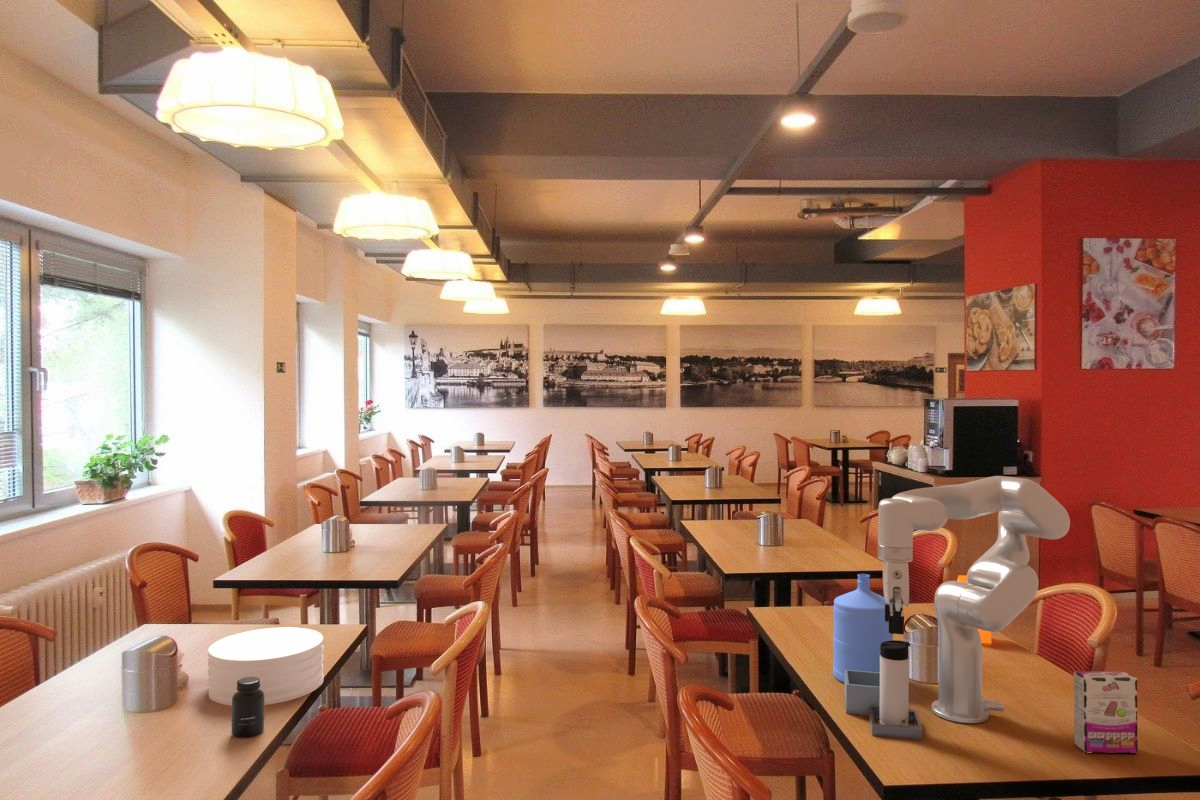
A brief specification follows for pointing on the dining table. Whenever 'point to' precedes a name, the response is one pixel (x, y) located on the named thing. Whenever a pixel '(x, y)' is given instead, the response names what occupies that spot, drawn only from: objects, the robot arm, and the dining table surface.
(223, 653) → the plate stack
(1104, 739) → the candy bar box
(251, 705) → the supplement bottle
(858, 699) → the grey bin
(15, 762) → the dining table surface
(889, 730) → the metal collar
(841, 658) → the water jug
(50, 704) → the dining table surface
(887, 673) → the travel mug
